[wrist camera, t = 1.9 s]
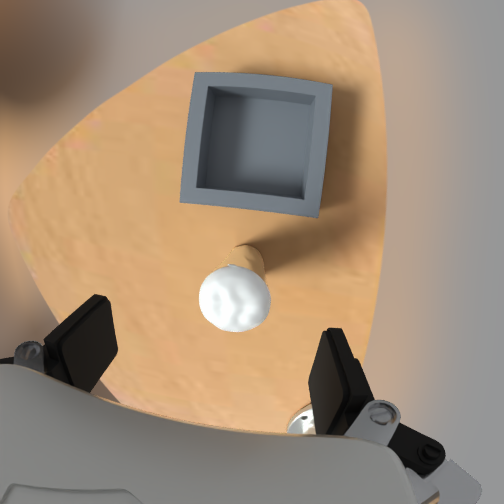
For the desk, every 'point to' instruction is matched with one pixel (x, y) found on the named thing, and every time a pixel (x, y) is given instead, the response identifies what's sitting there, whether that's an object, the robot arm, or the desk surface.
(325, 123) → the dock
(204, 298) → the milkshake
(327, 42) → the desk surface
